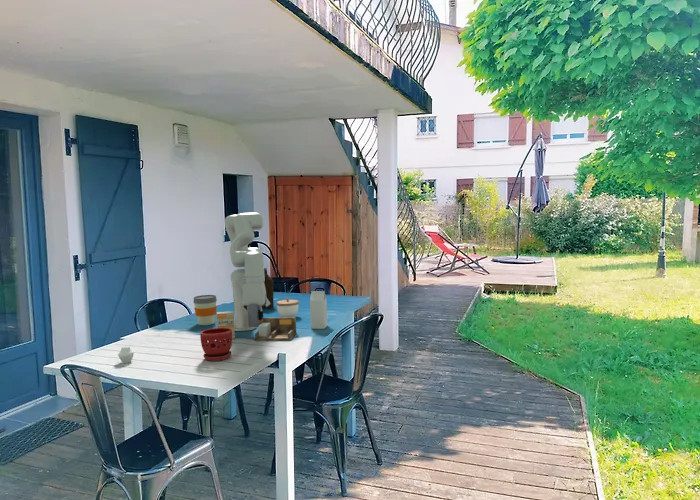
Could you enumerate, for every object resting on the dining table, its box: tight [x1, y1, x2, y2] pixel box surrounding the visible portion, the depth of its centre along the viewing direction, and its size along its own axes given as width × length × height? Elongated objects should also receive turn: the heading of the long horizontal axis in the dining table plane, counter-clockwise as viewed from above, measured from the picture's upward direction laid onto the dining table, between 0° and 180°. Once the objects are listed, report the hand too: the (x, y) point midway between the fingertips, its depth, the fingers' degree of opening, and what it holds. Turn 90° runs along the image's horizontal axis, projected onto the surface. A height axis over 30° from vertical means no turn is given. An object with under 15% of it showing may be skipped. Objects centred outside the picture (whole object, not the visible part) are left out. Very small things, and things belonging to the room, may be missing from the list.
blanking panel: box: [248, 304, 264, 328], centre depth 233 cm, size 4×10×10 cm, turn 175°
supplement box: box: [216, 310, 236, 340], centre depth 251 cm, size 8×5×13 cm, turn 105°
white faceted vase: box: [117, 345, 135, 364], centre depth 217 cm, size 6×6×7 cm
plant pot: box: [199, 327, 233, 362], centre depth 218 cm, size 13×13×12 cm
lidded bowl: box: [276, 297, 300, 318], centre depth 295 cm, size 13×13×11 cm
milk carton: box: [309, 290, 329, 330], centre depth 266 cm, size 7×7×19 cm
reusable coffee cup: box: [193, 294, 217, 326], centre depth 287 cm, size 13×13×15 cm
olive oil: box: [263, 267, 275, 310], centre depth 327 cm, size 11×11×25 cm
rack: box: [253, 316, 297, 342], centre depth 251 cm, size 18×14×8 cm
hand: (255, 318), depth 233 cm, fingers closed on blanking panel, 4 cm apart
